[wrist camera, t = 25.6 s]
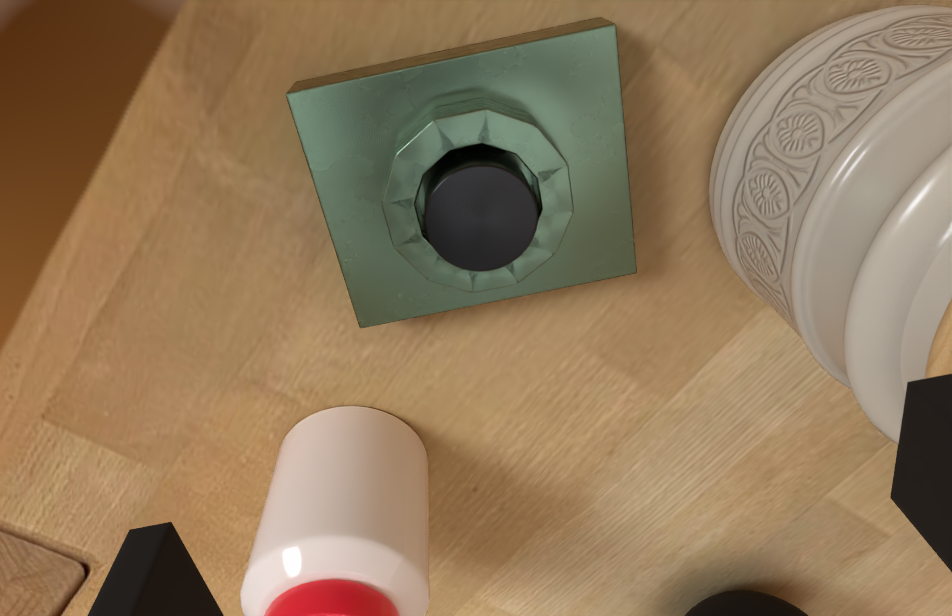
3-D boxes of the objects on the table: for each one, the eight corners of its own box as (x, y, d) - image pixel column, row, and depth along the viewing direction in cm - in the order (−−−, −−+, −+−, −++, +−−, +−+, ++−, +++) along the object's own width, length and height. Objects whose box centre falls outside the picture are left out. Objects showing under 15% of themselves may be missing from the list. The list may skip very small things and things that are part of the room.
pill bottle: (245, 464, 35) (178, 664, 26) (352, 378, 33) (323, 560, 24) (354, 541, 38) (331, 745, 29) (458, 466, 36) (471, 659, 27)
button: (436, 261, 27) (438, 282, 25) (413, 162, 25) (412, 178, 23) (538, 241, 27) (545, 260, 25) (522, 140, 25) (529, 153, 23)
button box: (363, 304, 31) (356, 351, 28) (294, 81, 27) (275, 104, 23) (624, 252, 31) (649, 293, 28) (602, 16, 26) (629, 29, 23)
